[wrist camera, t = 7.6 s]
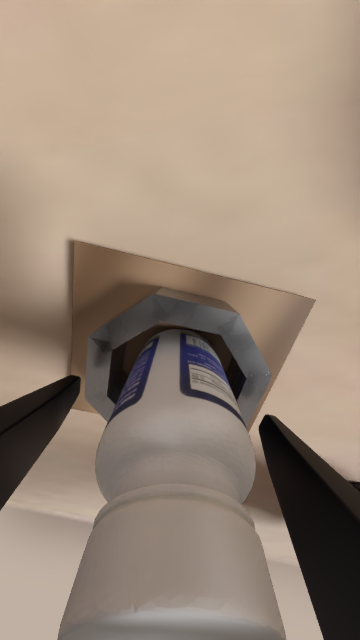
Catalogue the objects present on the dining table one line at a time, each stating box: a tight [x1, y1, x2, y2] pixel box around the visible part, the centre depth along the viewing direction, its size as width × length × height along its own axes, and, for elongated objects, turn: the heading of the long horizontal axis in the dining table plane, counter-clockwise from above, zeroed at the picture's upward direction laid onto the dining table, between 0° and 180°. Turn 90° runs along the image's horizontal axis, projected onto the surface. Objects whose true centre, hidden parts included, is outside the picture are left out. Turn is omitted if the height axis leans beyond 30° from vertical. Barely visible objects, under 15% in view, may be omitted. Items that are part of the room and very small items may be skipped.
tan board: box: [71, 241, 316, 433], centre depth 12 cm, size 14×12×1 cm
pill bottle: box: [58, 329, 286, 640], centre depth 7 cm, size 5×5×9 cm
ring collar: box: [84, 286, 272, 428], centre depth 10 cm, size 9×9×2 cm
